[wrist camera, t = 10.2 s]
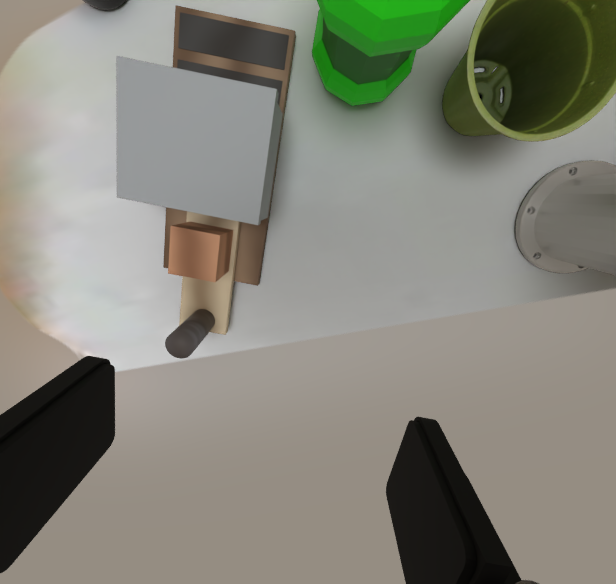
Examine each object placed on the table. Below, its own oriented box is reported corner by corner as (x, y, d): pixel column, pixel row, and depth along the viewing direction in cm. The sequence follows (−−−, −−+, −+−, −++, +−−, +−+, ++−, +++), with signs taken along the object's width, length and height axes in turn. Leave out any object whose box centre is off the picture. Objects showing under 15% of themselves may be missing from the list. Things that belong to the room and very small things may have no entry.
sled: (249, 153, 34) (228, 141, 26) (227, 331, 40) (206, 363, 33) (195, 142, 34) (159, 126, 26) (182, 323, 40) (150, 352, 33)
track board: (295, 36, 32) (294, 30, 30) (259, 282, 40) (257, 285, 39) (180, 12, 31) (175, 4, 30) (168, 265, 40) (163, 267, 38)
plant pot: (551, 114, 33) (662, 75, 22) (449, 179, 35) (506, 172, 25) (507, 2, 30) (610, -103, 20) (400, 81, 33) (439, 25, 22)
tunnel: (287, 115, 33) (276, 88, 25) (271, 218, 36) (258, 225, 28) (167, 90, 33) (116, 55, 24) (162, 196, 36) (116, 197, 28)
